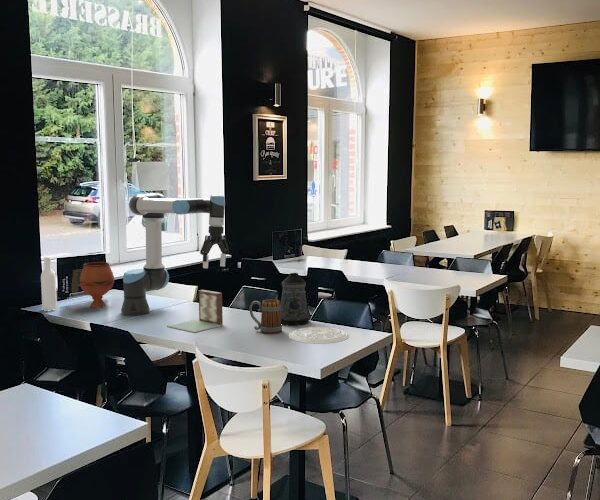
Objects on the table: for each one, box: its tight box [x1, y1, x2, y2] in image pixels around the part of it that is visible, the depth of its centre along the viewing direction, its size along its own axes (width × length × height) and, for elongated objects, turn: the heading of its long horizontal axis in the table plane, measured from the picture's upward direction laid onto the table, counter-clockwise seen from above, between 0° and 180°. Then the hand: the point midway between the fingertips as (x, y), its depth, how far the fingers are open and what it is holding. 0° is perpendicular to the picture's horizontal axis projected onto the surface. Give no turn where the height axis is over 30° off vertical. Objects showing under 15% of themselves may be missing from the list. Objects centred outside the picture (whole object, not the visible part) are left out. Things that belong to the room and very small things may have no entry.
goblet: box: [79, 261, 115, 308], centre depth 372 cm, size 19×19×25 cm
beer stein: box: [280, 272, 311, 327], centre depth 330 cm, size 16×19×25 cm
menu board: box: [198, 289, 224, 326], centre depth 330 cm, size 14×3×16 cm, turn 51°
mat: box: [167, 319, 222, 334], centre depth 322 cm, size 20×18×1 cm
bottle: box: [40, 256, 58, 312], centre depth 361 cm, size 8×8×30 cm
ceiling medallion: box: [288, 326, 350, 345], centre depth 303 cm, size 28×28×3 cm
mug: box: [248, 298, 283, 335], centre depth 311 cm, size 16×11×15 cm
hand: (214, 267), depth 332 cm, fingers open, 13 cm apart
